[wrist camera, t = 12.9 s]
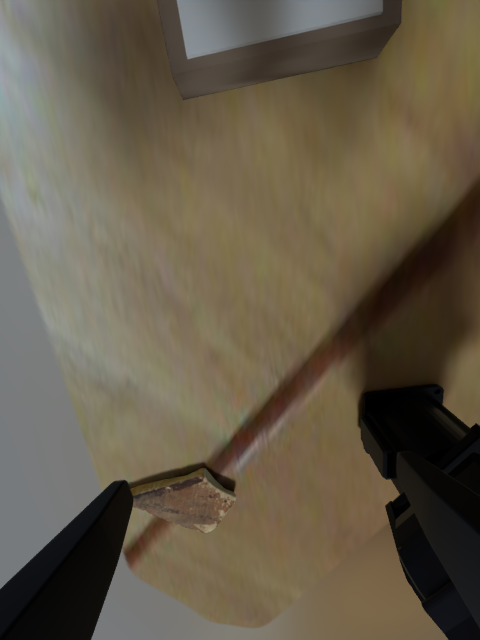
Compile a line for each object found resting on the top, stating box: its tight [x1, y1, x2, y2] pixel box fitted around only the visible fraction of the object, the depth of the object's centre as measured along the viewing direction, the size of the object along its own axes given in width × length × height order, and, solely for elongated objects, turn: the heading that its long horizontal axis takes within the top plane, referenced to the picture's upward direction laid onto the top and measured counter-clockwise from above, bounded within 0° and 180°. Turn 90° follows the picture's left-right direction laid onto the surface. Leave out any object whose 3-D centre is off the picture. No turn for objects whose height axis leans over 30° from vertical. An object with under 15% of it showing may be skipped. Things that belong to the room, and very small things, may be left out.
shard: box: [130, 468, 236, 533], centre depth 26 cm, size 11×8×2 cm
